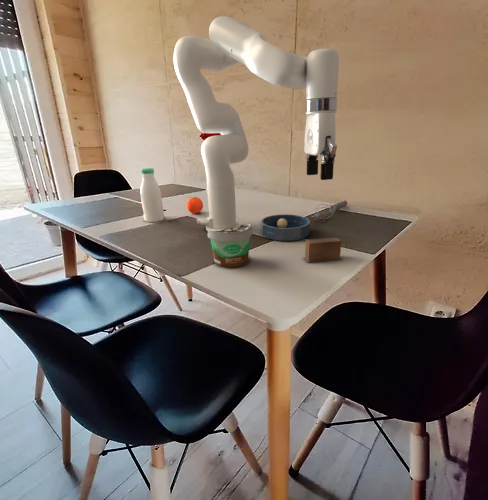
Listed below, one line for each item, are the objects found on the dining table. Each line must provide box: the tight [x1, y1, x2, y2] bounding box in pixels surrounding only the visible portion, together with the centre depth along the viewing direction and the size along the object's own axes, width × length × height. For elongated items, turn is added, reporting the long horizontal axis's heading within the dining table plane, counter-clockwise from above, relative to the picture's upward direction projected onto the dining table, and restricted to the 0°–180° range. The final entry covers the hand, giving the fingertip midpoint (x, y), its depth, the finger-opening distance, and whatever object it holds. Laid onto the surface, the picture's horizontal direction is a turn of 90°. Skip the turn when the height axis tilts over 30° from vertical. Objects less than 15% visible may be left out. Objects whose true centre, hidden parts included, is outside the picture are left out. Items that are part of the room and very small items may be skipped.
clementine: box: [186, 196, 204, 214], centre depth 132 cm, size 8×7×7 cm
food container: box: [207, 223, 254, 269], centre depth 82 cm, size 12×6×10 cm, turn 114°
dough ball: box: [277, 219, 287, 228], centre depth 109 cm, size 4×4×4 cm
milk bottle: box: [139, 167, 165, 223], centre depth 121 cm, size 8×8×20 cm
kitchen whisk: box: [311, 199, 348, 223], centre depth 126 cm, size 6×34×6 cm, turn 146°
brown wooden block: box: [304, 237, 342, 263], centre depth 85 cm, size 9×3×6 cm, turn 101°
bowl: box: [260, 214, 311, 242], centre depth 105 cm, size 16×16×4 cm
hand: (319, 177), depth 84 cm, fingers open, 9 cm apart
